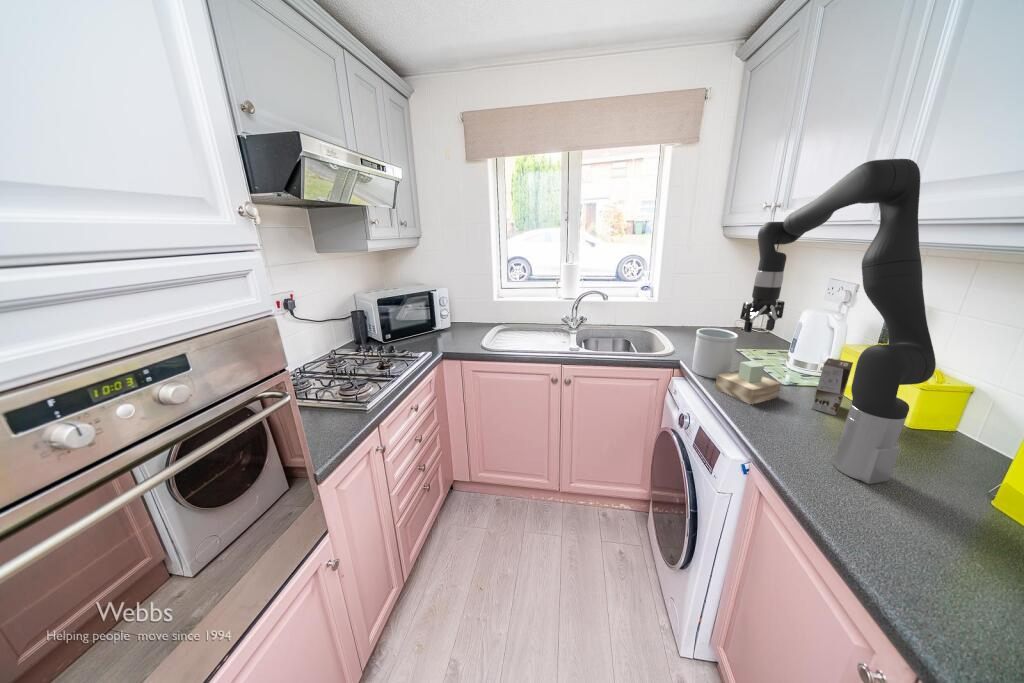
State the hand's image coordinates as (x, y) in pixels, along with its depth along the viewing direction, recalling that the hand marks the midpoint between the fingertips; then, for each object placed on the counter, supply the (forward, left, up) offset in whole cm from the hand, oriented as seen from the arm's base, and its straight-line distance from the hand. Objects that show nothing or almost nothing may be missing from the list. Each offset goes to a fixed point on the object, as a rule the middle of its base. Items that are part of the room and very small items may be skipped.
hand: (758, 331), depth 122 cm
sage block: (0, 0, -18) cm, 18 cm away
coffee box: (-15, -17, -24) cm, 33 cm away
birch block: (0, 0, -24) cm, 24 cm away
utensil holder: (+20, -1, -24) cm, 31 cm away
